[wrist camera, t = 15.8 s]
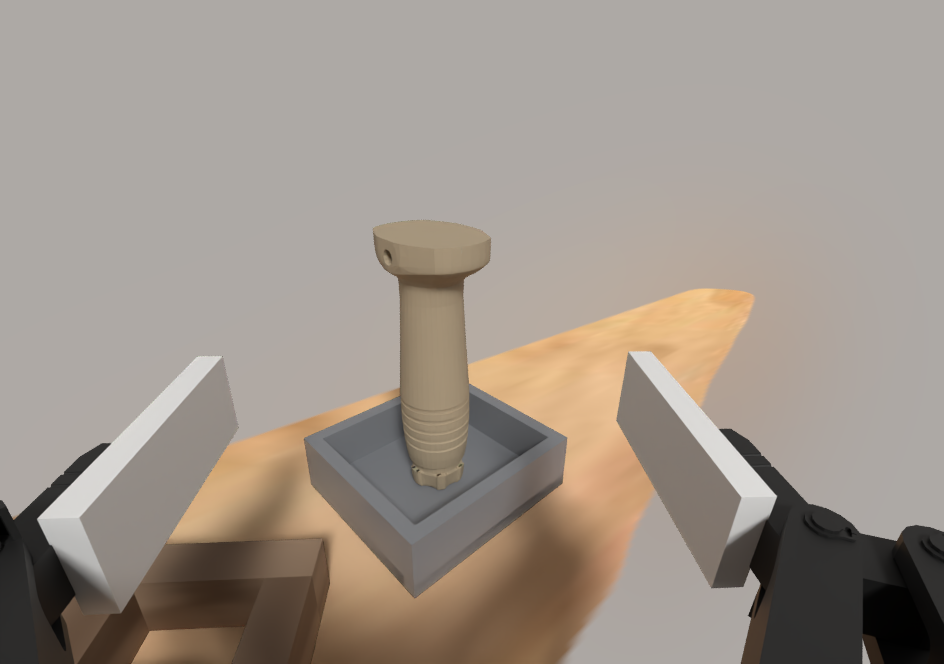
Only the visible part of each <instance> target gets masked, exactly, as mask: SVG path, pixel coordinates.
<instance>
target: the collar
mask: <svg viewBox="0 0 944 664" xmlns="http://www.w3.org/2000/svg"><path fill="white" fill-rule="evenodd" d="M329 584H330V582H329V576H328V570H327V563H326V557H325V551H324V545H323V539H322V538H321V539H296V540H270V541H245V542H219V543H194V544H168V545H164V546H163V548H162V550H161V551H160V553H159V554H158V556H157V557H156V559H155V561H154V562H153V564H152V565H151V567H150V568H149V570H148V572H147V573H146V575H145V576H144V578H143V579H142V581H141V583H140V584H139V586H138V587H137V589H136V590H135V592H134V594H133V595H132V597H131V598H130V600H129V601H128V603H127V605H126V606H125V608H124V609H123V611H122V612H121V613H117V614H93V615H83V613H82V611H81V609H80V606H79V604H78V602H77V600H76V598H75V596H74V598H73V599H72V600H71V602H70V603H69V604H68V606H67V607H66V608H65V610H64V611H63V612H62V616H63V618H64V620H65V622H66V624H67V628H68V633H69V638H70V644H71V649H72V654H73V659H74V664H131V662H132V660H133V659H134V657H135V655H136V653H137V651H138V650H139V648H140V646H141V644H142V643H143V641H144V639H145V637H146V636H147V634H148V632H149V631H152V630H173V629H193V628H213V627H234V626H246V627H245V630H244V632H243V635H242V638H241V640H240V643H239V646H238V648H237V651H236V653H235V656H234V659H233V661H232V664H311V660H312V655H313V651H314V647H315V643H316V639H317V634H318V630H319V626H320V622H321V618H322V613H323V609H324V605H325V601H326V597H327V592H328V588H329Z"/></svg>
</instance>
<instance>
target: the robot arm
mask: <svg viewBox="0 0 944 664" xmlns="http://www.w3.org/2000/svg"><path fill="white" fill-rule="evenodd" d="M616 421H617V422H618V424H619V426H620V428H621V430H622V431H623V433H624V435H625V437H626V438H627V440H628V442H629V444H630V445H631V447H632V449H633V451H634V452H635V454H636V456H637V458H638V460H639V461H640V463H641V465H642V467H643V468H644V470H645V472H646V474H647V475H648V477H649V479H650V481H651V482H652V484H653V486H654V488H655V490H656V491H657V493H658V495H659V496H660V498H661V500H662V502H663V504H664V505H665V507H666V509H667V511H668V512H669V514H670V516H671V518H672V520H673V521H674V523H675V525H676V527H677V528H678V530H679V532H680V534H681V535H682V537H683V539H684V541H685V542H686V544H687V546H688V548H689V550H690V551H691V553H692V555H693V557H694V558H695V560H696V562H697V564H698V565H699V567H700V569H701V571H702V573H703V574H704V576H705V578H706V579H707V581H708V583H709V585H710V587H711V588H731V587H743V586H744V583H745V581H746V578H747V576H748V573H749V570H750V568H751V570H752V571H753V573H754V574H755V576H756V577H757V579H758V580H759V582H760V583H761V584H760V587H759V589H758V592H757V594H756V597H755V600H754V602H753V605H752V607H751V610H750V612H749V615H748V616H749V617H751V621H750V626H749V630H748V635H747V639H746V643H745V647H744V652H743V656H742V661H741V664H862V638H863V641H864V645H865V647H866V651H867V654H868V657H869V660H870V663H871V664H944V532H942V531H939V530H936V529H934V528H931V527H924V526H918V525H915V526H909V527H906V528H905V529H904V530H903V531H902V533H901V535H900V537H899V538H898V540H897V541H894V540H889V539H885V538H879V537H875V536H870V535H865V534H861V533H859V531H857V529H856V528H855V527H854V526H853V524H852V523H850V522H849V521H847V520H846V519H845V518H843V517H842V516H841V515H839V514H837V513H835V512H833V511H831V510H829V509H827V508H823V507H819V506H816V505H813V504H812V505H811V504H808V503H807V502H806V501H805V500H804V499H803V498H802V497H801V496H800V495H799V494H798V492H797V491H796V490H795V489H794V488H793V487H792V486H791V485H790V484H789V483H788V482H787V481H786V480H785V479H784V477H783V476H782V475H780V473H779V472H778V471H777V470H776V469H775V468H774V467H771V464H770V462H769V461H768V460H767V459H766V458H765V457H764V456H761V453H760V452H759V451H758V450H757V449H756V447H755V446H754V445H753V444H752V443H751V442H750V441H749V440H748V439H746V438H744V437H743V436H741V435H739V434H738V433H737V432H735V431H733V430H732V429H718V428H717V427H716V426H715V425H714V424H713V422H712V421H711V420H710V419H709V418H708V417H707V416H706V414H705V413H704V412H703V411H702V410H701V409H700V407H699V406H698V405H697V404H696V403H695V402H694V401H693V399H692V398H691V397H690V396H689V395H688V394H687V393H686V391H685V390H684V389H683V388H682V387H681V386H680V385H679V383H678V382H677V381H676V380H675V379H674V378H673V376H672V375H671V374H670V373H669V372H668V371H667V370H666V368H665V367H664V366H663V365H662V364H661V363H660V362H659V360H658V359H657V358H656V357H655V356H654V355H653V353H652V352H651V351H650V352H628V357H627V362H626V368H625V374H624V380H623V385H622V391H621V397H620V402H619V408H618V414H617V420H616ZM238 428H239V427H238V423H237V418H236V413H235V409H234V405H233V401H232V396H231V391H230V387H229V382H228V378H227V373H226V369H225V365H224V360H223V356H199V357H197V358H196V359H195V360H194V361H193V362H192V363H191V364H190V365H189V366H188V367H187V368H186V369H185V370H184V371H183V372H182V373H181V374H180V375H179V376H178V377H177V378H176V379H175V380H174V381H173V382H172V383H171V384H170V385H169V386H168V387H167V388H166V389H165V390H164V391H163V392H162V393H161V394H160V395H159V396H158V397H157V398H156V399H155V400H154V401H153V402H152V403H151V404H150V405H149V406H148V407H147V408H146V409H145V411H143V412H142V413H141V414H140V415H139V416H138V417H137V418H136V419H135V420H134V421H133V422H132V423H131V424H130V425H129V426H128V427H127V428H126V429H125V430H124V431H123V432H122V433H121V434H120V435H119V437H118V438H117V439H116V440H115V441H114V442H113V443H102V444H100V445H99V446H97V447H95V448H94V449H92V450H90V451H89V452H87V453H85V454H84V455H82V456H80V457H79V458H78V459H77V460H76V461H75V462H74V463H73V464H72V465H71V466H70V467H69V468H68V469H67V470H66V471H65V472H64V475H60V476H59V477H58V478H57V479H56V480H55V481H54V482H53V483H52V484H51V487H50V488H47V489H46V490H45V491H44V492H43V493H42V494H41V495H39V496H38V497H37V498H36V499H35V500H34V501H33V502H32V503H31V504H30V505H29V506H28V507H27V508H26V509H25V510H24V511H23V512H22V513H21V514H20V515H19V516H18V517H17V518H16V519H15V520H13V519H12V517H11V515H10V513H9V511H8V509H7V507H6V505H5V504H4V503H3V501H1V500H0V664H74V659H73V654H72V649H71V644H70V638H69V633H68V628H67V624H66V622H65V620H64V618H63V616H62V612H63V611H64V610H65V608H66V607H67V606H68V604H69V603H70V602H71V600H72V599H73V598H74V596H75V598H76V600H77V602H78V604H79V606H80V609H81V611H82V613H83V615H93V614H117V613H121V612H122V611H123V609H124V608H125V606H126V605H127V603H128V601H129V600H130V598H131V597H132V595H133V594H134V592H135V590H136V589H137V587H138V586H139V584H140V583H141V581H142V579H143V578H144V576H145V575H146V573H147V572H148V570H149V568H150V567H151V565H152V564H153V562H154V561H155V559H156V557H157V556H158V554H159V553H160V551H161V550H162V548H163V546H164V545H165V543H166V542H167V540H168V538H169V537H170V535H171V534H172V532H173V531H174V529H175V527H176V526H177V524H178V523H179V521H180V520H181V518H182V516H183V515H184V513H185V512H186V510H187V509H188V507H189V505H190V504H191V502H192V501H193V499H194V498H195V496H196V494H197V493H198V491H199V490H200V488H201V487H202V485H203V483H204V482H205V480H206V479H207V477H208V476H209V474H210V472H211V471H212V469H213V468H214V466H215V465H216V463H217V461H218V460H219V458H220V457H221V455H222V454H223V452H224V450H225V449H226V447H227V446H228V444H229V443H230V441H231V439H232V438H233V436H234V435H235V433H236V432H237V430H238Z"/></svg>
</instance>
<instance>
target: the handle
mask: <svg viewBox="0 0 944 664" xmlns="http://www.w3.org/2000/svg"><path fill="white" fill-rule="evenodd" d="M373 234H374V245H375V251H376V255H377V258H378V260H379V262H380V264H381V265H382V266H383V268H384V269H385V270H386V271H388V272H389V273H391V274H392V275H394V276H397V278H398V281H399V293H400V398H401V412H402V422H403V429H404V434H405V441H406V446H407V450H408V454H409V457H410V459H411V460H412V462H413V466H411V469H412V474H413V478H414V480H415V482H416V483H417V484H419V485H421V486H423V485H424V486H431V487H434V488H436V489H437V490H443V489H446V487H447V486H448V485H450V484H452V483H454V482H458V481H459V480H460V479H461V477H462V475H463V469H464V463H463V462H462V458H463V456H464V453H465V449H466V444H467V437H468V424H469V378H468V364H467V350H466V336H465V318H464V300H463V289H464V279H465V278H466V277H468V276H469V275H471V274H474V273H476V272H477V271H479V270H480V269H482V268H483V267H484V266H485V265H487V264H488V263H489V261H490V250H491V238H490V237H489V236H488V235H487V234H486V233H484V232H483V231H481V230H479V229H476V228H473V227H469V226H465V225H461V224H457V223H449V222H440V221H430V220H412V221H401V222H394V223H388V224H383V225H379V226H376V227H374V228H373Z"/></svg>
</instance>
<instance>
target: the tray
mask: <svg viewBox="0 0 944 664" xmlns="http://www.w3.org/2000/svg"><path fill="white" fill-rule="evenodd" d="M304 443H305V449H306V455H307V461H308V467H309V473H310V479H311V484H312V485H313V487H314V488H315V489H316V490H317V491H318V492H319V493H320V494H321V495H322V497H323V498H324V499H325V500H326V501H327V502H328V503H329V504H330V505H331V507H332V508H333V509H334V510H335V511H336V512H337V513H338V514H339V515H340V516H341V518H342V519H343V520H344V521H345V522H346V523H347V524H348V525H349V526H350V528H351V529H352V530H353V531H354V532H355V533H356V534H357V535H358V536H359V537H360V539H361V540H362V541H363V542H364V543H365V544H366V545H367V546H368V547H369V549H370V550H371V551H372V552H373V553H374V554H375V555H376V556H377V557H378V558H379V560H380V561H381V562H382V563H383V564H384V565H385V566H386V567H387V568H388V570H389V571H390V572H391V573H392V574H393V575H394V576H395V577H396V578H397V580H398V581H399V582H400V583H401V584H402V585H403V586H404V587H405V588H406V589H407V591H408V592H409V593H410V594H411V595H412V596H413V597H414V598H416V597H417V596H418V595H420V594H421V593H422V592H424V591H425V590H426V589H427V588H429V587H430V586H431V585H432V584H434V583H435V582H436V581H438V580H439V579H440V578H441V577H443V576H444V575H445V574H447V573H448V572H449V571H450V570H452V569H453V568H454V567H456V566H457V565H458V564H459V563H461V562H462V561H463V560H465V559H466V558H467V557H468V556H470V555H471V554H472V553H474V552H475V551H476V550H477V549H479V548H480V547H481V546H482V545H484V544H485V543H486V542H488V541H489V540H490V539H491V538H493V537H494V536H495V535H497V534H498V533H499V532H500V531H502V530H503V529H504V528H506V527H507V526H508V525H509V524H511V523H512V522H513V521H515V520H516V519H517V518H518V517H520V516H521V515H522V514H523V513H525V512H526V511H527V510H529V509H530V508H531V507H532V506H534V505H535V504H536V503H538V502H539V501H540V500H541V499H543V498H544V497H545V496H547V495H548V494H549V493H550V492H552V491H553V490H554V489H556V488H557V487H558V486H559V485H561V484H562V481H563V472H564V463H565V454H566V445H567V437H565V436H563V435H562V434H560V433H558V432H556V431H554V430H553V429H551V428H549V427H547V426H545V425H543V424H542V423H540V422H538V421H536V420H534V419H533V418H531V417H529V416H527V415H525V414H523V413H522V412H520V411H518V410H516V409H514V408H513V407H511V406H509V405H507V404H505V403H504V402H502V401H500V400H498V399H496V398H494V397H493V396H491V395H489V394H487V393H485V392H484V391H482V390H480V389H478V388H476V387H475V386H473V385H471V384H469V424H468V437H467V444H466V449H465V453H464V456H463V458H462V462H463V463H464V469H463V475H462V477H461V479H460V480H459V481H458V482H454V483H452V484H450V485H448V486H447V487H446V489H443V490H437V489H436V488H434V487H431V486H424V485H423V486H421V485H419V484H417V483H416V482H415V480H414V478H413V474H412V469H411V466H413V462H412V460H411V459H410V457H409V454H408V450H407V446H406V441H405V434H404V429H403V422H402V412H401V398H400V396H399V397H397V398H394V399H392V400H390V401H387V402H385V403H383V404H381V405H378V406H376V407H374V408H372V409H369V410H367V411H365V412H362V413H360V414H358V415H356V416H353V417H351V418H349V419H346V420H344V421H342V422H340V423H337V424H335V425H333V426H330V427H328V428H326V429H324V430H321V431H319V432H317V433H314V434H312V435H310V436H308V437H305V438H304Z"/></svg>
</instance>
